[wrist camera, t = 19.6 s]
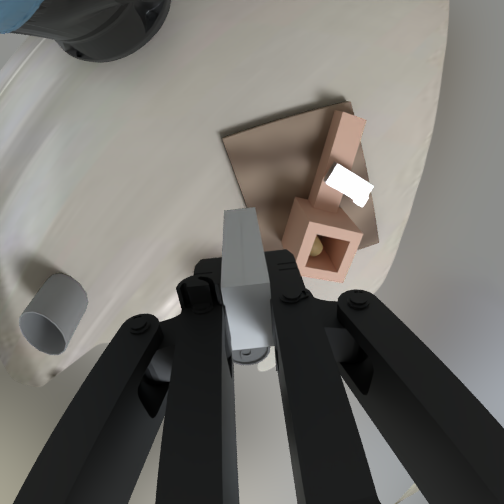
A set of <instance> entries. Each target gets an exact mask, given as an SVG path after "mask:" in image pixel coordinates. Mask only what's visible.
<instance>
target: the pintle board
mask: <svg viewBox="0 0 504 504" xmlns="http://www.w3.org/2000/svg"><path fill="white" fill-rule="evenodd" d="M335 110H337V111H342V112H345V113H348V114H351V115H354V112H353V109H352V105H351V102H348V101H346V102H341V103H337V104H333V105H329V106H325V107H321V108H317V109H314V110H310V111H306V112H303V113H299V114H295V115H292V116H288V117H285V118H282V119H278V120H275V121H272V122H268V123H265V124H262V125H259V126H256V127H253V128H249V129H246V130H243V131H240V132H237V133H234V134H232V135H229V136H226V137H223V139H222V140H223V142H224V145H225V148H226V150H227V153H228V156H229V159H230V161H231V164H232V167H233V169H234V172H235V175H236V178H237V180H238V183H239V186H240V189H241V191H242V194H243V197H244V199H245V202H246V205H247V208H252V207H255V210H256V215H257V220H258V225H259V230H260V235H261V240H262V245H263V250H264V252H265V251H274V250H283V246H282V243H281V241H282V238H283V235H284V232H285V228H286V225H287V222H288V218H289V215H290V212H291V209H292V205H293V202H294V199H295V197H299V198H303V199H307V200H308V198H309V194H310V191H311V188H312V185H313V182H314V178H315V175H316V172H317V169H318V165H319V162H320V159H321V155H322V152H323V149H324V145H325V142H326V139H327V135H328V132H329V128H330V125H331V121H332V118H333V114H334V111H335ZM351 172H353V173H354V174H356V175H357V176H359V177H361V178H362V179H364V180H365V181H367V182H368V183H369V178H368V173H367V168H366V163H365V159H364V154H363V150H362V145H361V141H360V144H359V147H358V150H357V153H356V156H355V159H354V163H353V166H352V169H351ZM368 197H369V198H368V199H367V201H366V203H365V204H364V206H363V207H361V206H359V205H357V204H356V203H354V202H353V201H352V200H351V199H350V198H349V197H348V196H347V195H346V194H344V193H343V196H342V199H341V202H340V205H339V208H342V209H343V211H344V212H345V213H346V214H347V215H348V216H349V218H350V219H351V220H352V221H353V222H354V223H355V225H356V226H357V227H358V228H359V229H360V231H361V232H362V233H363V236H362V239H361V241H360V244H359V246H358V249H357V250H359V249H362V248H365V247H368V246H371V245H374V244H377V243H379V238H378V231H377V225H376V218H375V212H374V206H373V200H372V194H371V191H370V193H369V195H368ZM321 239H322V235H318V234H317V235H316V238H315V240H314V243H313V246H312V249H311V252H310V254H309V255H310V256H317V255H319V254H320V253H321V251H322V249H323V246H322V243H321V242H320V241H321Z"/></svg>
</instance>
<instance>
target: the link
mask: <svg viewBox="0 0 504 504" xmlns="http://www.w3.org/2000/svg"><path fill="white" fill-rule="evenodd" d="M365 124H366V120H365V119H362V118H359V117H357V116H354V115H351V114H348V113H345V112H342V111H337V110H335V111H334V114H333V118H332V121H331V125H330V128H329V132H328V135H327V139H326V142H325V145H324V149H323V152H322V155H321V159H320V162H319V165H318V169H317V172H316V175H315V178H314V182H313V185H312V188H311V191H310V194H309V198H308V200H307V199H303V198H299V197H295V199H294V202H293V205H292V209H291V212H290V215H289V218H288V222H287V225H286V228H285V232H284V235H283V238H282V241H281V243H282V246H283V249H287V250H288V251H290V252H291V253H292V254H293V255H294V257H295V260H296V263H297V266H298V269H299V271H300V274H301V276H304V277H310V278H316V279H322V280H328V281H334V282H340V283H343V282H344V280H345V277H346V275H347V273H348V270H349V268H350V266H351V263H352V261H353V258H354V256H355V254H356V251H357V249H358V246H359V244H360V241H361V239H362V236H363V233H362V232H361V231H360V229H359V228H358V227H357V226H356V225H355V223H354V222H353V221H352V220H351V219H350V218H349V216H348V215H347V214H346V213H345V212H344V211H343V209H342V208H339V205H340V202H341V199H342V196H343V193H342V192H340V191H339V190H337V189H335V188H334V187H332V186H330V185H328V184H327V183H325V182H324V181H323V179H324V177H325V176H326V174H327V172H328V171H329V169H330V167H331V166H332V164H333V162H334V161H335V162H336V163H338V164H340V165H341V166H343V167H345V168H346V169H348V170H349V171H351V169H352V166H353V163H354V159H355V156H356V153H357V150H358V147H359V144H360V140H361V137H362V134H363V130H364V127H365ZM317 234H318V235H322V239H321V241H320V242H321V243H322V246H323V249H322V251H321V253H320V254H319V255H317V256H310V255H309V254H310V252H311V249H312V246H313V243H314V240H315V238H316V235H317Z"/></svg>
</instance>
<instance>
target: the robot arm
mask: <svg viewBox="0 0 504 504" xmlns="http://www.w3.org/2000/svg"><path fill="white" fill-rule="evenodd" d="M170 3H171V0H0V33H1V34H5V33H16V34H24V35H30V36H37V37H43V38H49V39H54V40H55V41H56V42H57V43H58V44H59V45H60V47H61V48H62V49H63V50H64V51H65V52H66V53H68V54H69V55H71V56H73V57H75V58H77V59H80V60H84V61H90V62H109V61H114V60H117V59H121V58H123V57H126V56H128V55H130V54H132V53H133V52H135V51H137V50H138V49H140V48H141V47H142V46H144V45H145V44H146V43H147V42H148V41H149V40H150V39H152V37H153V36H154V35H155V34H156V33H157V32H158V30H159V29H160V28H161V26H162V24H163V23H164V21H165V19H166V17H167V14H168V11H169V8H170ZM176 290H177V294H178V297H179V301H180V305H181V308H182V311H181V314H180V315H178V316H176V317H174V318H171V319H168V320H165V321H162V322H159V320H158V318H156V317H155V316H154V315H151V314H139V315H136V316H133V317H131V318H129V319H128V320H126V321H125V322H124V323H123V324H122V326H121V327H120V329H119V330H118V332H117V333H116V334H115V336H114V337H113V339H112V340H111V342H110V343H109V345H108V346H107V348H106V349H105V351H104V352H103V354H102V355H101V357H100V358H99V360H98V361H97V363H96V364H95V366H94V367H93V369H92V370H91V372H90V373H89V375H88V376H87V378H86V379H85V381H84V382H83V384H82V386H81V387H80V389H79V391H78V392H77V393H76V395H75V397H74V398H73V400H72V401H71V403H70V404H69V406H68V408H67V409H66V411H65V413H64V414H63V416H62V418H61V419H60V421H59V423H58V424H57V426H56V427H55V429H54V431H53V432H52V434H51V436H50V438H49V439H48V441H47V443H46V444H45V446H44V448H43V450H42V451H41V453H40V455H39V456H38V458H37V460H36V462H35V464H34V465H33V467H32V469H31V471H30V473H29V474H28V476H27V478H26V480H25V482H24V484H23V486H22V487H21V489H20V491H19V493H18V495H17V497H16V499H15V501H14V503H13V504H128V502H129V500H130V497H131V495H132V492H133V490H134V487H135V485H136V482H137V480H138V478H139V475H140V473H141V470H142V468H143V466H144V463H145V461H146V458H147V456H148V454H149V451H150V449H151V446H152V444H153V442H154V439H155V437H156V435H157V432H158V430H159V427H160V425H161V423H162V420H163V418H164V416H165V418H164V426H163V435H162V442H161V452H160V461H159V470H158V480H157V491H156V502H155V504H239V488H238V470H237V469H238V468H237V446H236V424H235V397H234V396H235V395H234V365H233V357H232V352H231V346H232V350H241V349H251V348H260V347H269V346H275V359H276V371H278V377H279V383H280V389H281V396H282V403H283V410H284V416H285V423H286V429H287V436H288V442H289V449H290V455H291V463H292V469H293V476H294V483H295V489H296V496H297V504H381V503H380V501H379V499H378V497H377V493H376V490H375V486H374V483H373V479H372V476H371V472H370V469H369V465H368V462H367V458H366V456H365V452H364V449H363V445H362V442H361V438H360V435H359V432H358V429H357V425H356V422H355V419H354V416H353V413H352V410H351V406H350V404H349V400H348V397H347V394H346V391H345V388H344V385H343V382H342V379H341V376H342V378H343V379H344V381H345V382H346V384H347V385H348V387H349V388H350V389H351V391H352V392H353V394H354V395H355V397H356V398H357V399H358V401H359V403H360V404H361V405H362V407H363V408H364V410H365V411H366V413H367V414H368V416H369V417H370V418H371V420H372V421H373V423H374V424H375V425H376V427H377V429H378V430H379V431H380V433H381V434H382V436H383V437H384V439H385V440H386V442H387V443H388V445H389V446H390V447H391V449H392V450H393V452H394V453H395V455H396V456H397V458H398V459H399V461H400V462H401V463H402V465H403V466H404V468H405V469H406V470H407V472H408V474H409V475H410V476H411V478H412V479H413V481H414V482H415V484H416V485H417V487H418V488H419V490H420V491H421V493H422V494H423V495H424V497H425V498H426V500H427V501H428V503H429V504H504V428H503V427H502V426H501V425H500V424H499V423H498V422H497V420H496V419H495V418H494V417H493V416H492V415H491V414H490V413H489V411H488V410H487V409H486V408H485V407H484V406H483V405H482V404H481V403H480V401H479V400H478V399H477V398H476V397H475V396H474V395H473V394H472V393H471V392H470V391H469V390H468V389H467V387H466V386H465V385H464V384H463V383H462V382H461V381H460V380H459V379H458V378H457V377H456V376H455V375H454V374H453V373H452V372H451V371H450V369H449V368H448V367H447V366H446V365H445V364H444V363H443V362H442V361H441V360H440V359H439V358H438V357H437V356H436V355H435V354H434V353H433V352H432V351H431V350H430V349H429V348H428V347H427V346H426V345H425V344H424V343H423V342H422V341H421V340H420V339H419V338H418V337H417V336H416V335H415V334H414V333H413V332H412V331H411V330H410V329H409V328H408V327H407V326H406V325H405V324H404V323H403V322H402V321H401V320H400V319H399V318H398V317H397V316H396V315H395V314H394V313H393V312H392V311H391V310H389V308H387V307H386V306H385V305H384V304H383V303H382V302H381V301H380V300H379V299H378V298H377V297H376V296H375V295H373V294H372V293H370V292H367V291H364V290H349V291H346V292H344V293H342V294H341V295H340V296H339V298H338V302H336V301H325V300H320V299H317V298H315V297H313V295H312V293H311V292H310V291H309V290H308V289H306V288H305V285H304V283H303V280H302V277H301V274H300V271H299V269H298V266H297V263H296V260H295V257H294V255H293V254H292V253H291V252H290V251H288V250H287V249H283V250H274V251H265V252H264V250H263V245H262V240H261V235H260V230H259V225H258V220H257V215H256V210H255V207H252V208H243V209H234V210H226V211H224V225H223V246H222V257H220V258H211V259H202V260H200V261H199V263H198V264H197V265H196V266H195V270H194V275H193V276H190V277H188V278H186V279H184V280H182V281H181V282H180V283H179V284H178V285H177V287H176Z"/></svg>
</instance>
